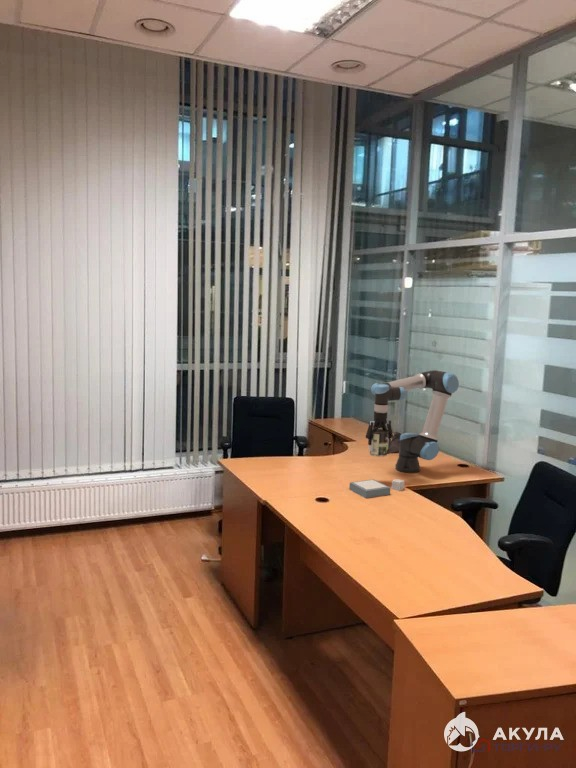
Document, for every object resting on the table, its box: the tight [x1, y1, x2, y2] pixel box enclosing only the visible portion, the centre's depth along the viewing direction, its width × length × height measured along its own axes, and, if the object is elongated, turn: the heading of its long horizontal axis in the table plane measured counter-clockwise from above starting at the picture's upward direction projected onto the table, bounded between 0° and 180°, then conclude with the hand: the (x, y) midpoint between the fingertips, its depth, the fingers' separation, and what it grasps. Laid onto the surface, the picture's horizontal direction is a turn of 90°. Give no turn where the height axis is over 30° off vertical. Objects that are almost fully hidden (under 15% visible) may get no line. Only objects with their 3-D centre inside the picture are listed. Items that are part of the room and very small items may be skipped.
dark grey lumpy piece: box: [387, 431, 402, 454], centre depth 432 cm, size 14×15×20 cm
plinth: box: [348, 478, 391, 499], centre depth 345 cm, size 16×16×4 cm
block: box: [391, 478, 405, 492], centre depth 351 cm, size 5×5×5 cm
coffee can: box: [369, 428, 389, 458], centre depth 357 cm, size 10×10×14 cm
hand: (378, 449), depth 358 cm, fingers closed on coffee can, 10 cm apart
